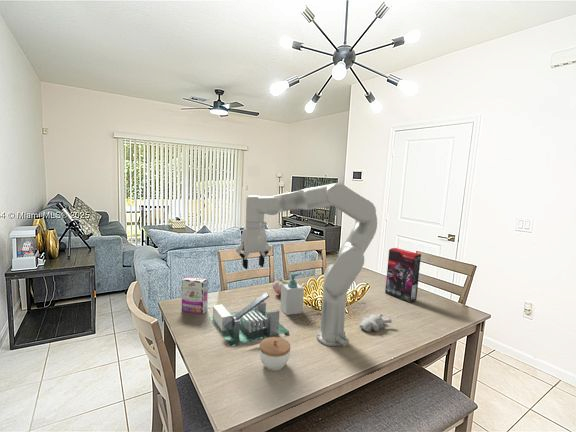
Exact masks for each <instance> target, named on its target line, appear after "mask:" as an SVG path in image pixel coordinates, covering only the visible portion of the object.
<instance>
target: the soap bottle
mask: <svg viewBox="0 0 576 432" xmlns="http://www.w3.org/2000/svg"><path fill="white" fill-rule="evenodd" d="M288 274H289V275H290V277H291V279H290V280H289V282H288V283H282V284H281V295H280V306H279V308H280V309H281V310H282V312H283V313H284V314H285V315H286V316H289V315H296V314H297V315H298V314H303V313H304V312H303V309H304V293H305V287H303V286H302V285H301V284H300V283H298V282H297V280H296V279H295V278H296V277H297V276H300V275H302V272H294V273H293V272H292V273H288Z"/></svg>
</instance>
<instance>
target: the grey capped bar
mask: <svg viewBox="0 0 576 432" xmlns="http://www.w3.org/2000/svg"><path fill="white" fill-rule="evenodd" d="M268 298H270V295H269V294H268V293H267V292H264V293H263V294H261V295H260V296H258V297H257V298H255V299H256V300H255V299H254V300H253V301H252V302H250V303H249V304H248V305H246V306H245V307H244V308H242V309H241V310H240V312H238V311H237V312H238V313H237V314H236V315H234V316H232V318H233V319H232V318H231V317H229V318H227V319H226V320H224V321H223V322H222V324H223V326H224V328H225V329H226V330H228V329H229V328H231V327H232V326H233V325H234V321H236V320H239V319H240V318H241V317H243V316H244V315H245V314H247V313H248V312H249V311H251V310H252V309H253V308H255V307H256V306H257V305H259V304H260V303H261V302H263V301H264V302H265V301H266V300H268ZM233 320H234V321H233Z"/></svg>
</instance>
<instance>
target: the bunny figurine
mask: <svg viewBox="0 0 576 432" xmlns="http://www.w3.org/2000/svg"><path fill="white" fill-rule="evenodd" d="M382 317H383V314H382V313H378V314H370V315H369V316H368V317H364V316H363V317H361V322H360V323H359V328H360V329H362V330H363V331H365V332H368V333H370V332H372V331H376V332H379V330H380V329H382V327H383V326H384V324H392V323H393V321H392V319H391V318H390V317H386V318H382Z"/></svg>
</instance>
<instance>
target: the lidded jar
mask: <svg viewBox="0 0 576 432" xmlns="http://www.w3.org/2000/svg"><path fill="white" fill-rule="evenodd" d="M290 353H291V343H290V342H289V341H288V339H285V338H283V337H278V336H271V337H267V338H264V339H263V340H262V339H261V341H260V343H259V357H260V361H261V364H263V366H265V368H266V370H269V371H273V372H276V371H280V370H282V368H283V367H284V366H286V364H287V363H288V361H289V359H290V356H291V355H290Z"/></svg>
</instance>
